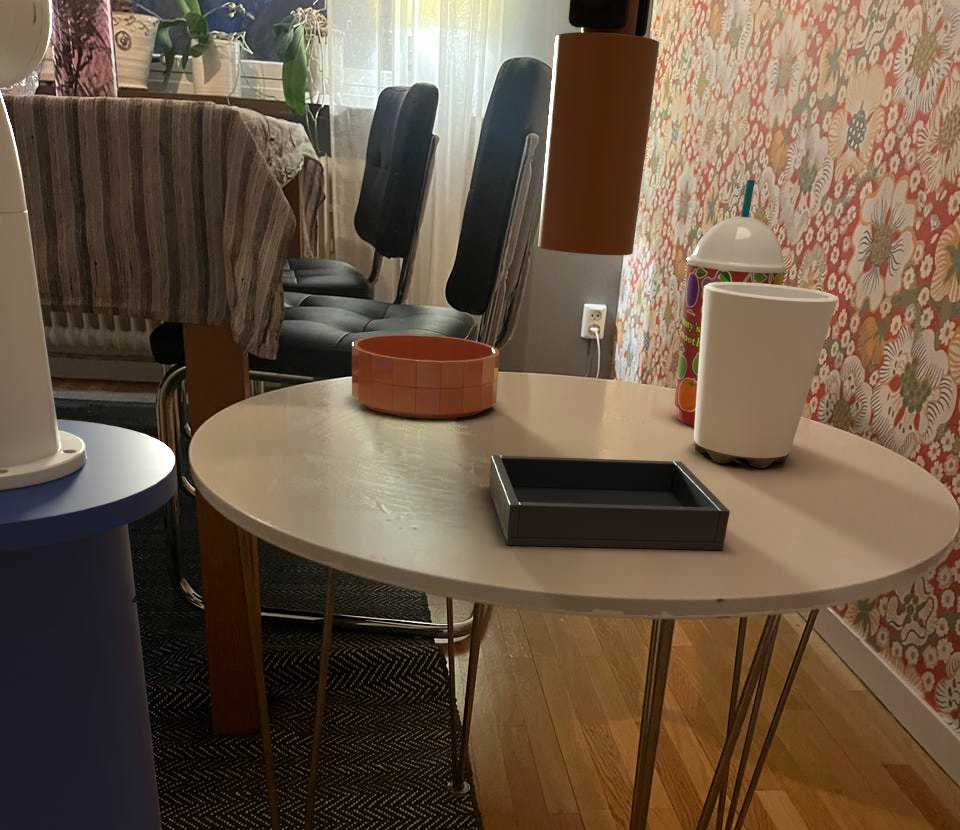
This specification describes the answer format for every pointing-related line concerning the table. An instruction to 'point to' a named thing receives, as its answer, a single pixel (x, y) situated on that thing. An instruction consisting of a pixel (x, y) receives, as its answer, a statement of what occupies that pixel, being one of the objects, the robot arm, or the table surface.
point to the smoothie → (722, 258)
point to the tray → (604, 504)
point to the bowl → (424, 375)
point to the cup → (756, 367)
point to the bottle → (597, 139)
